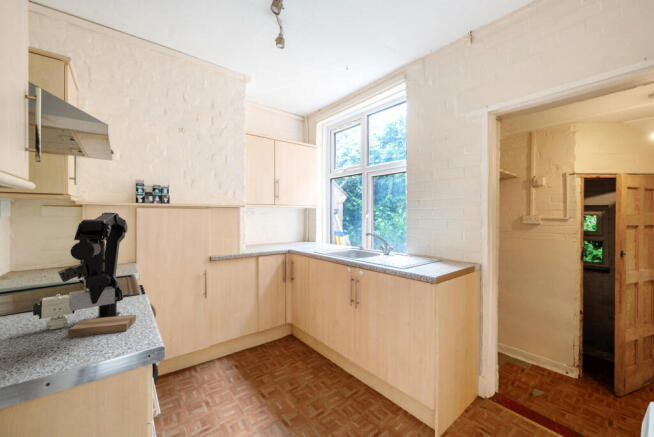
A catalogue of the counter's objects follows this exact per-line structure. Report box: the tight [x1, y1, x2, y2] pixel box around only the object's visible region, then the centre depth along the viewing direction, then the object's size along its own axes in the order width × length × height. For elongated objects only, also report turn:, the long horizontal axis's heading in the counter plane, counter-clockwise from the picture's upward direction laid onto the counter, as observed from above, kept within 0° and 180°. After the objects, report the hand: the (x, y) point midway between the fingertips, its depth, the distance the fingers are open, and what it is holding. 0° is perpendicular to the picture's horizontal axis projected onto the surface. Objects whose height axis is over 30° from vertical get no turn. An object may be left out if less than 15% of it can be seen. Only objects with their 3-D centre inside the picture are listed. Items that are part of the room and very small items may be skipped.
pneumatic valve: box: [32, 293, 76, 330], centre depth 95 cm, size 6×12×12 cm, turn 135°
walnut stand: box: [67, 314, 137, 338], centre depth 95 cm, size 10×16×2 cm, turn 110°
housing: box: [68, 286, 115, 311], centre depth 91 cm, size 11×5×6 cm, turn 140°
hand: (92, 301), depth 91 cm, fingers closed on housing, 5 cm apart
